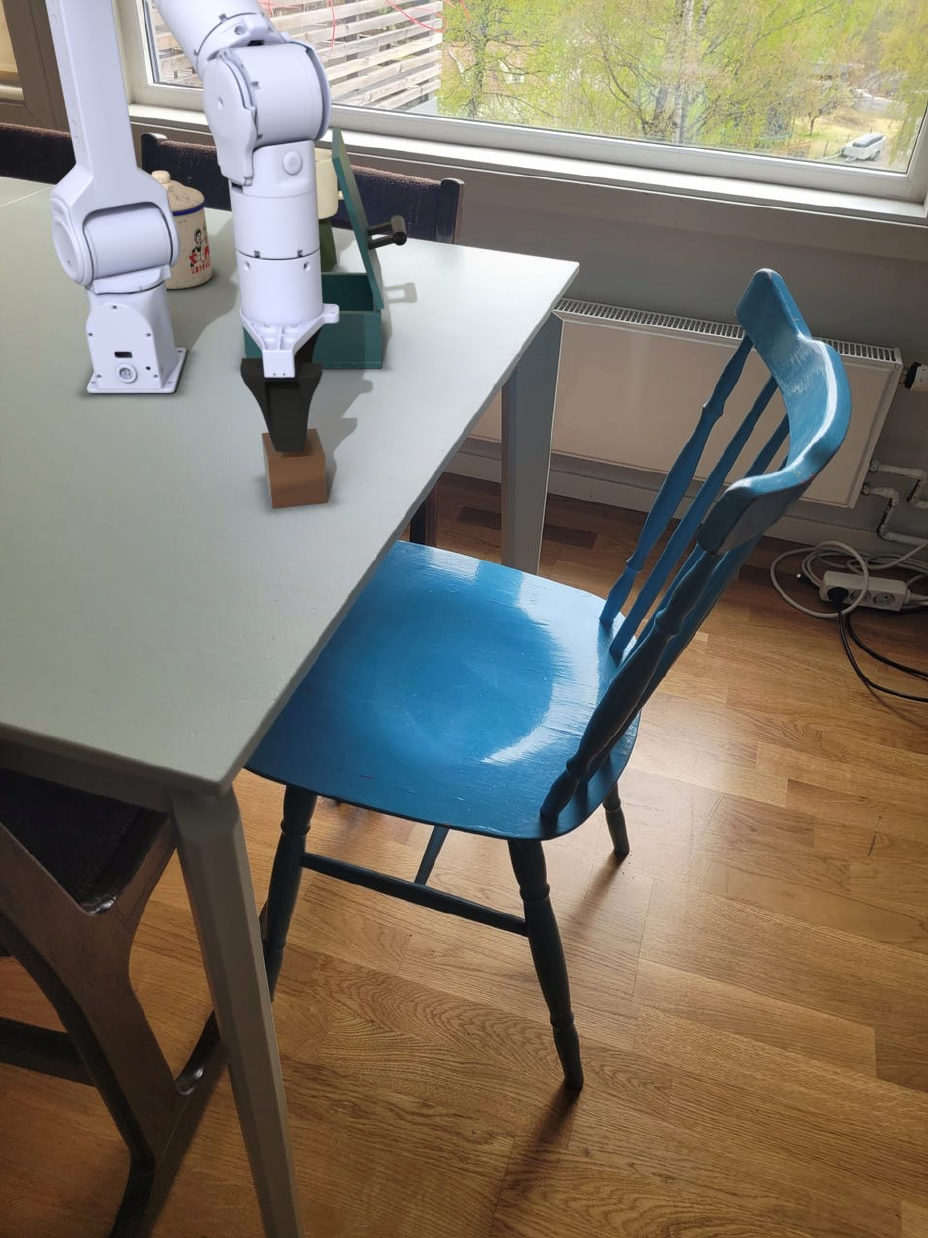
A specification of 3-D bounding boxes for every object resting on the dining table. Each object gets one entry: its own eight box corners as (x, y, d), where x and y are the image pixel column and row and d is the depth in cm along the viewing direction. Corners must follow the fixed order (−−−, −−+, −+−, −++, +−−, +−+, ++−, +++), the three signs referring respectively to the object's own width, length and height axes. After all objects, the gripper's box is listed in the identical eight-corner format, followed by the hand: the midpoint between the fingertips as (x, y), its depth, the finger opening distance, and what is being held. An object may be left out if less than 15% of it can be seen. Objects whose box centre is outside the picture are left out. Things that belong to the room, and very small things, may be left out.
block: (327, 502, 77) (325, 454, 74) (272, 508, 76) (267, 459, 73) (319, 475, 80) (316, 427, 78) (266, 480, 79) (261, 432, 77)
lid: (331, 158, 84) (380, 144, 84) (332, 127, 93) (376, 114, 93) (377, 310, 93) (422, 298, 93) (374, 269, 102) (415, 258, 102)
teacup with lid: (210, 291, 111) (197, 184, 104) (129, 290, 110) (110, 182, 103) (220, 256, 120) (208, 155, 113) (145, 255, 119) (129, 154, 112)
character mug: (348, 255, 122) (345, 145, 114) (362, 275, 117) (359, 160, 109) (262, 261, 119) (253, 148, 111) (272, 281, 114) (263, 164, 106)
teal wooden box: (247, 368, 96) (241, 312, 92) (255, 323, 104) (250, 270, 101) (381, 368, 97) (381, 313, 93) (378, 324, 106) (378, 272, 102)
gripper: (335, 284, 61) (343, 471, 69) (336, 214, 72) (343, 383, 80) (222, 283, 60) (244, 472, 69) (241, 213, 71) (258, 383, 80)
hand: (291, 424), depth 75 cm, fingers open, 7 cm apart
